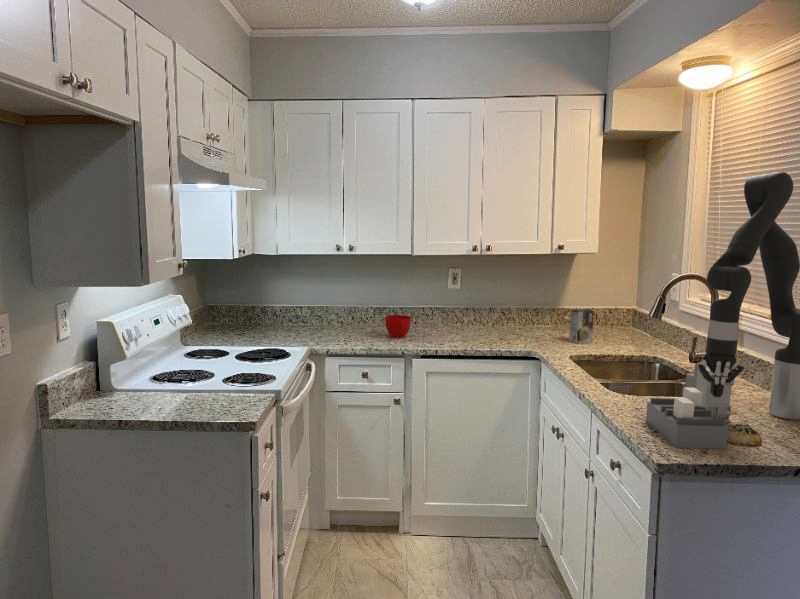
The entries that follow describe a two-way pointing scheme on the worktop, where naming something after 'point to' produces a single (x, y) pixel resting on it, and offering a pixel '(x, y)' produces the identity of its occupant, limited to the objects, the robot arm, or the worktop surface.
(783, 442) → the worktop surface
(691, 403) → the breaker
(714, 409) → the circuit breaker
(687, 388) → the block
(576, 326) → the coffee box
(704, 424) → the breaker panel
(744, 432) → the bread roll
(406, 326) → the ceramic cup
